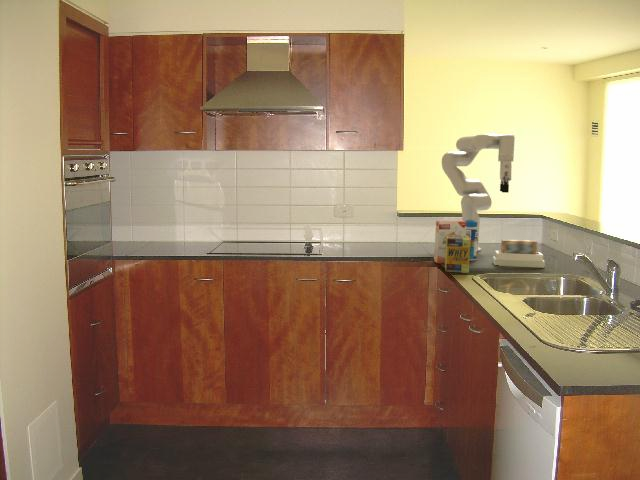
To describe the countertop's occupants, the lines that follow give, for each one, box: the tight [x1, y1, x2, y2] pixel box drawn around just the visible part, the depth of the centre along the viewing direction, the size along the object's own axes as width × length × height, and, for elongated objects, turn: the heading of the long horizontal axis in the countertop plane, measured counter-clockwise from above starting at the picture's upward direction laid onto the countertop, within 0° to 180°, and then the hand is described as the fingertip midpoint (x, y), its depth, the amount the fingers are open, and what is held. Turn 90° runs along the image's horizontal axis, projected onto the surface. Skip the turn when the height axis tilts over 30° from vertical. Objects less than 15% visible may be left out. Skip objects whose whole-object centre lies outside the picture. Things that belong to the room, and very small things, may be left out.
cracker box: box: [433, 220, 467, 264], centre depth 300 cm, size 14×6×21 cm, turn 96°
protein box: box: [444, 235, 470, 274], centre depth 282 cm, size 10×15×16 cm
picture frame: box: [500, 239, 538, 254], centre depth 296 cm, size 16×4×9 cm, turn 82°
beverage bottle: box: [464, 220, 479, 262], centre depth 310 cm, size 8×8×20 cm
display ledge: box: [492, 250, 546, 269], centre depth 297 cm, size 23×10×6 cm, turn 79°
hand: (504, 191), depth 315 cm, fingers open, 9 cm apart
